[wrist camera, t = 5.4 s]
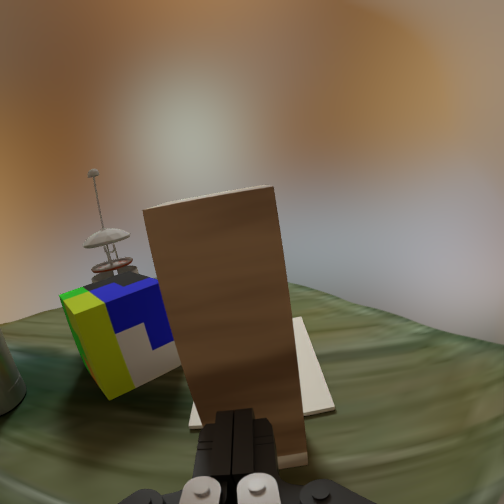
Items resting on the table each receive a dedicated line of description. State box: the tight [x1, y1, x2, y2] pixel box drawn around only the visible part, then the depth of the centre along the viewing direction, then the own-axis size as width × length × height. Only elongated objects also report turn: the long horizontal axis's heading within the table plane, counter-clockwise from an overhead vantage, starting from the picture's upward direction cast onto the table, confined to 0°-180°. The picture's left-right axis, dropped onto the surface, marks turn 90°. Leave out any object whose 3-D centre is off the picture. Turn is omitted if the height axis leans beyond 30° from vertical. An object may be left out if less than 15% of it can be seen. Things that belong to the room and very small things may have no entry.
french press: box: [82, 169, 139, 283], centre depth 47 cm, size 10×12×25 cm
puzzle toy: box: [59, 271, 181, 401], centre depth 33 cm, size 10×10×10 cm
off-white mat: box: [189, 317, 335, 429], centre depth 32 cm, size 18×12×1 cm, turn 1°
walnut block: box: [143, 185, 308, 469], centre depth 18 cm, size 4×6×18 cm
